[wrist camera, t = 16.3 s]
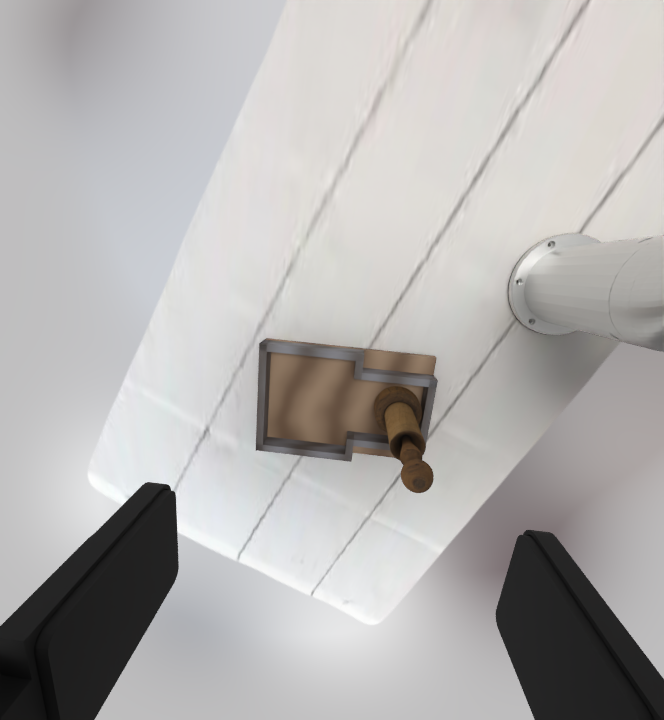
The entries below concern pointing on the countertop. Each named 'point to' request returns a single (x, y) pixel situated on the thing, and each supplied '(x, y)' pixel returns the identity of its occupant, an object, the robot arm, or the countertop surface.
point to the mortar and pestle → (404, 435)
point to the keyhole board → (333, 397)
